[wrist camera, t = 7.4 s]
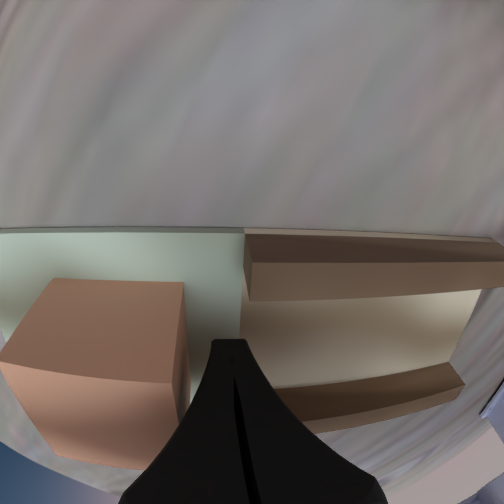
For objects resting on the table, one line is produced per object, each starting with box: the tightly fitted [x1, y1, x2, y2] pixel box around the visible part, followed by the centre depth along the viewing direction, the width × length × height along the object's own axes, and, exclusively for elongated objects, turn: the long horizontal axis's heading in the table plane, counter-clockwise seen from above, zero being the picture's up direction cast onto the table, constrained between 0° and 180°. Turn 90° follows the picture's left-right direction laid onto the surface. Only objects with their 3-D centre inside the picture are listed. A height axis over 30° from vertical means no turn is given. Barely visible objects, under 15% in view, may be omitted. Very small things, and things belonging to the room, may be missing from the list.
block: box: [0, 278, 191, 471], centre depth 9 cm, size 5×5×4 cm
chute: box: [0, 227, 504, 434], centre depth 11 cm, size 9×23×2 cm, turn 86°
